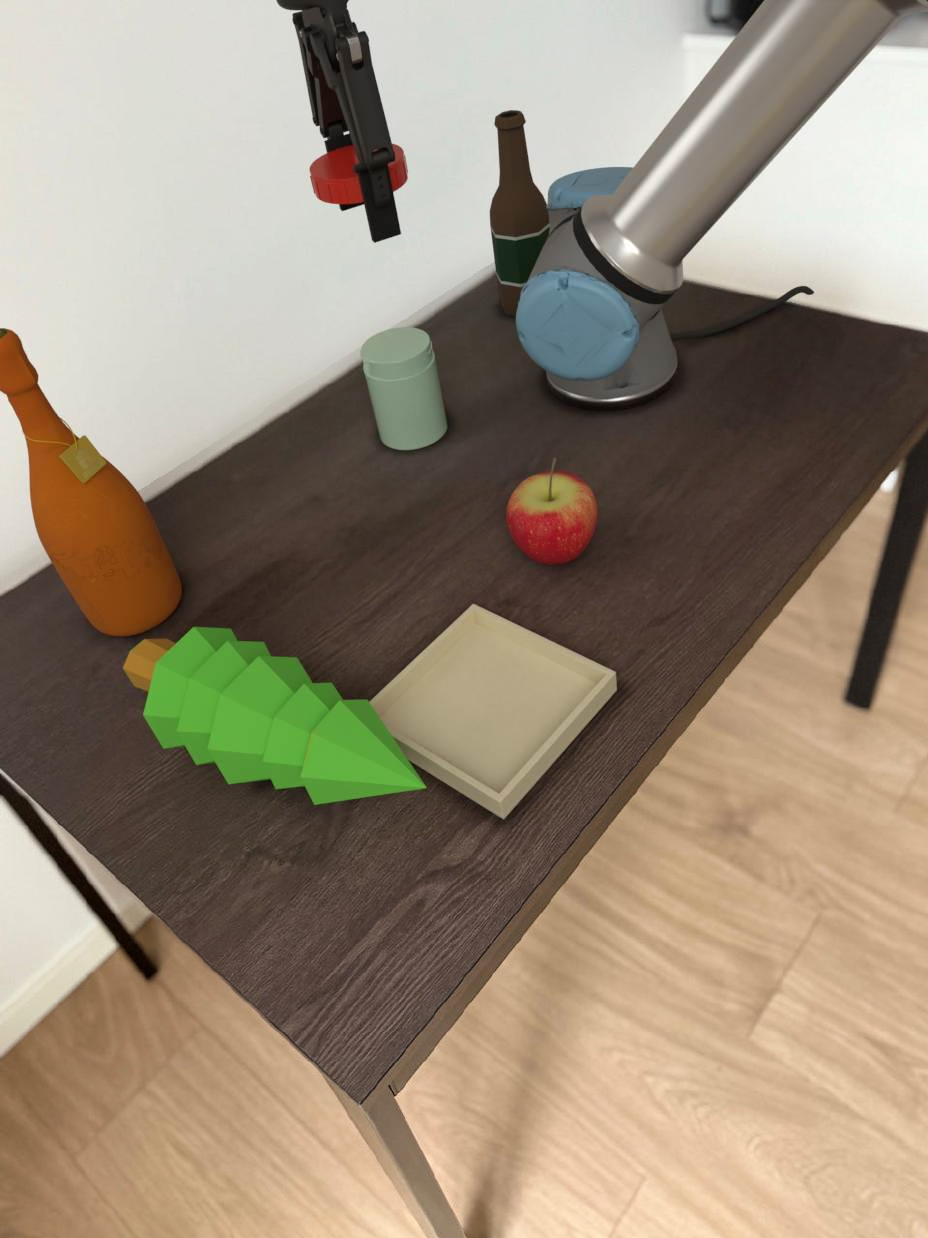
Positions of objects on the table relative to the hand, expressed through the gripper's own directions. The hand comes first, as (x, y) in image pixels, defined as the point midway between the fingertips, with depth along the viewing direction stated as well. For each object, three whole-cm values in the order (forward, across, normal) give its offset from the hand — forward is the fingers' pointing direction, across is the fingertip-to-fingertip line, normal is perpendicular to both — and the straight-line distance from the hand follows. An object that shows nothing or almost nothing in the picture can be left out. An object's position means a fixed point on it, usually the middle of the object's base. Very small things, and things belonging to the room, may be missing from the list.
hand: (369, 220), depth 92 cm
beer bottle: (+25, -20, +25) cm, 40 cm away
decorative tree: (+25, +38, -27) cm, 53 cm away
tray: (+25, +42, -10) cm, 49 cm away
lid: (-5, 0, 0) cm, 5 cm away
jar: (+25, -1, 0) cm, 25 cm away
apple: (+25, +27, +4) cm, 37 cm away
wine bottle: (+25, +11, -35) cm, 44 cm away
